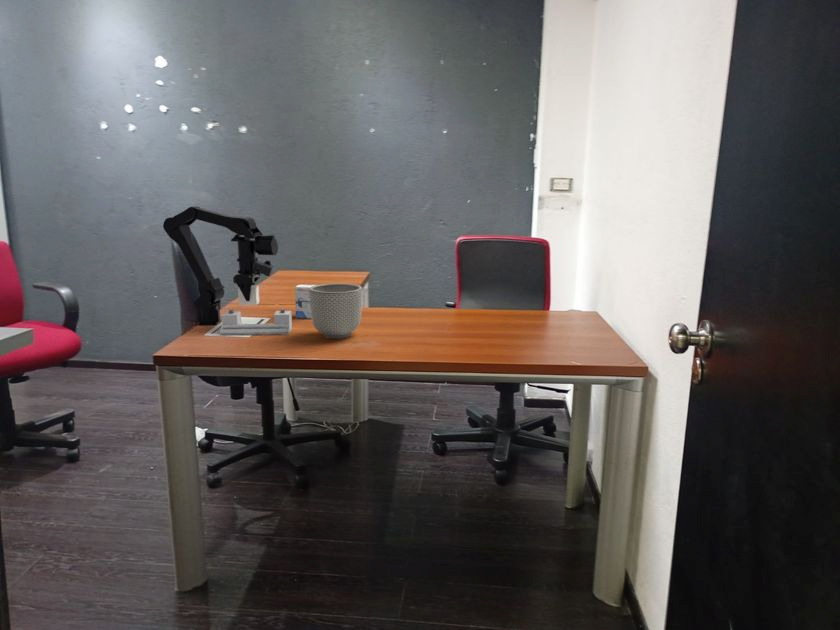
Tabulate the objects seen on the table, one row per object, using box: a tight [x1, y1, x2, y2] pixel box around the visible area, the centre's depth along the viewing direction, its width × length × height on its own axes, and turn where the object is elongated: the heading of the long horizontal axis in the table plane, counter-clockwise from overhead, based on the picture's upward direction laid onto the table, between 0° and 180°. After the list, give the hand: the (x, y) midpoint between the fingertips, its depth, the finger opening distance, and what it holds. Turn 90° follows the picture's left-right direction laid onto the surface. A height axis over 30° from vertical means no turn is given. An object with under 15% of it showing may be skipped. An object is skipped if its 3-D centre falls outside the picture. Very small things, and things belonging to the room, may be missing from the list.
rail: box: [219, 323, 291, 336], centre depth 204 cm, size 22×3×3 cm, turn 94°
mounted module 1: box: [220, 308, 242, 325], centre depth 208 cm, size 5×6×7 cm
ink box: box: [294, 284, 316, 319], centre depth 228 cm, size 9×5×12 cm, turn 84°
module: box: [237, 284, 260, 306], centre depth 214 cm, size 6×5×7 cm
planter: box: [309, 282, 364, 340], centre depth 201 cm, size 17×17×16 cm
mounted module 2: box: [273, 308, 293, 332], centre depth 209 cm, size 5×6×7 cm
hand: (249, 299), depth 214 cm, fingers closed on module, 5 cm apart
